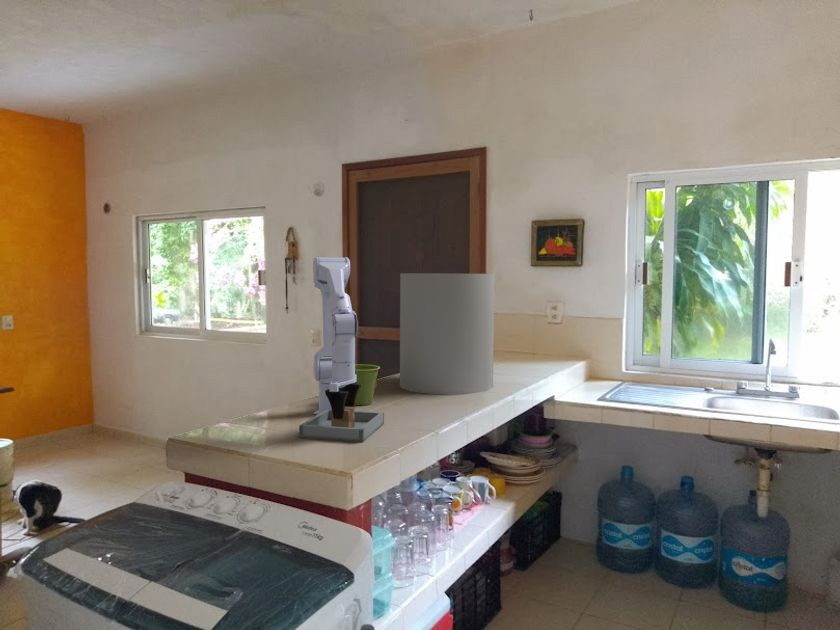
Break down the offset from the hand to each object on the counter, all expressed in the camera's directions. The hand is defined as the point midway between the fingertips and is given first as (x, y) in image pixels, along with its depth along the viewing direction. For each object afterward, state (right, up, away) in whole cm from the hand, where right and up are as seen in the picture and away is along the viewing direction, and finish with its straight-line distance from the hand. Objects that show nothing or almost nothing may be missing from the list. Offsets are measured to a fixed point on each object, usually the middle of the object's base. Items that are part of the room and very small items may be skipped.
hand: (343, 415), depth 150 cm
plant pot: (+1, -2, +33) cm, 33 cm away
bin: (0, -4, 0) cm, 4 cm away
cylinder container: (+29, 0, +64) cm, 71 cm away
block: (0, -3, 0) cm, 3 cm away
